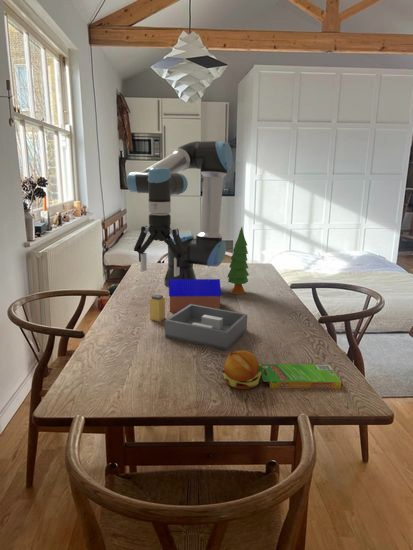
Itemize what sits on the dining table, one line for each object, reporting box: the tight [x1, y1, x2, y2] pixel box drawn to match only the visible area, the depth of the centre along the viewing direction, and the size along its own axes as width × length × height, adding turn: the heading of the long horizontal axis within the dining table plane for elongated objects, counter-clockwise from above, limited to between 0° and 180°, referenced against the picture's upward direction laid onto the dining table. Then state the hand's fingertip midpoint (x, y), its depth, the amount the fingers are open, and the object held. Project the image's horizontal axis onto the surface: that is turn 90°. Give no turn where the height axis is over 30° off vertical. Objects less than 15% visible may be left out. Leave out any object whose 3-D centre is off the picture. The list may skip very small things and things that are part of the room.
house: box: [168, 278, 222, 313], centre depth 165 cm, size 12×20×12 cm, turn 95°
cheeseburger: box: [221, 349, 263, 390], centre depth 109 cm, size 10×11×10 cm
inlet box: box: [164, 304, 248, 351], centre depth 140 cm, size 22×18×6 cm
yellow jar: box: [149, 294, 166, 322], centre depth 152 cm, size 4×4×9 cm
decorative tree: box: [227, 226, 250, 295], centre depth 182 cm, size 10×9×30 cm
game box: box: [259, 363, 342, 389], centre depth 113 cm, size 3×10×20 cm
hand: (159, 273), depth 149 cm, fingers open, 13 cm apart
